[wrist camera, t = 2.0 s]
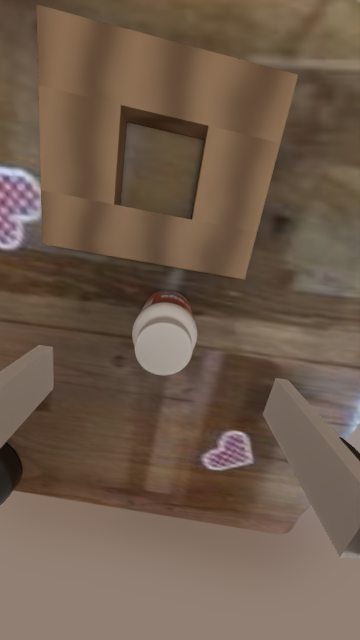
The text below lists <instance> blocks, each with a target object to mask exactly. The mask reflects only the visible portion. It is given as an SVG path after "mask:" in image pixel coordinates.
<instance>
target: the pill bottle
mask: <svg viewBox="0 0 360 640" xmlns="http://www.w3.org/2000/svg"><path fill="white" fill-rule="evenodd" d="M132 339H133V343H134V346H135V355H136V358H137V360H138V362H139V363H140V365H141V366H142V367H143V368H144V369H146V370H147V371H149V372H151V373H154V374H157V375H171V374H174V373H177V372H179V371H180V370H182V369H183V368H184V367H185V366H186V365H187V364H188V362H189V361H190V359H191V356H192V351H193V349H194V347H195V344H196V341H197V328H196V324H195V321H194V318H193V314H192V311H191V307H190V305H189V303H188V301H187V300H186V299H185V297H184V296H182V295H181V294H179V293H178V292H175V291H171V290H163V291H159V292H156V293H155V294H153V295H152V296H151V297H150V298H149V299H148V300H147V301H146V303H145V305H144V306H143V308H142V310H141V312H140V313H139V315H138V317H137V319H136V321H135V323H134V326H133V330H132Z"/></svg>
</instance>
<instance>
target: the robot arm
mask: <svg viewBox="0 0 360 640" xmlns="http://www.w3.org/2000/svg"><path fill="white" fill-rule="evenodd" d="M53 388H54V383H53V347H50V346H43V345H38V346H37V347H35V348H34V349H32V350H31V351H29V352H28V353H26V354H25V355H23V356H22V357H21V358H19V359H18V360H16V361H15V362H13V363H12V364H10V365H9V366H7V367H6V368H4V369H3V370H2V371H0V505H1V504H2V503H3V502H4V501H5V500H6V499H7V498H8V497H9V495H10V494H11V492H12V491H13V489H14V488H15V486H16V485H17V483H18V482H19V480H20V477H21V472H22V469H21V464H20V461H19V459H18V457H17V455H16V454H15V452H14V451H13V450H12V449H11V448H10V447H9V446H8V445H7V444H6V441H7V440H8V439H9V438H10V437H11V436H12V435H13V434H14V432H15V431H16V430H17V429H18V428H19V427H20V426H21V425H22V423H23V422H24V421H25V420H26V419H27V418H28V417H29V415H30V414H31V413H32V412H33V411H34V410H35V409H36V408H37V406H38V405H39V404H40V403H41V402H42V401H43V400H44V399H45V397H46V396H47V395H48V394H49V393H50V392H51V391H52V390H53ZM263 416H264V418H265V420H266V422H267V423H268V425H269V427H270V429H271V431H272V433H273V434H274V436H275V438H276V440H277V442H278V444H279V446H280V447H281V449H282V451H283V453H284V455H285V457H286V458H287V460H288V462H289V464H290V466H291V468H292V470H293V471H294V473H295V475H296V477H297V479H298V481H299V482H300V484H301V486H302V488H303V490H304V492H305V493H306V495H307V497H308V499H309V501H310V503H311V505H312V506H313V508H314V510H315V512H316V514H317V516H318V517H319V519H320V521H321V523H322V525H323V527H324V528H325V530H326V532H327V534H328V536H329V538H330V540H331V541H332V543H333V545H334V547H335V549H336V550H337V552H338V554H339V556H340V557H347V558H360V453H359V452H358V451H357V450H356V449H355V448H354V447H352V446H351V445H350V444H349V443H348V442H346V441H345V440H344V439H343V438H341V437H338V436H337V435H336V434H335V433H334V431H333V430H332V429H331V428H330V427H329V426H328V425H327V424H326V422H325V421H324V420H323V419H322V418H321V417H320V416H319V415H318V413H317V412H316V411H315V410H314V409H313V408H312V407H311V406H310V404H309V403H308V402H307V401H306V400H305V399H304V398H303V396H302V395H301V394H300V393H299V392H298V391H297V390H296V389H295V387H294V386H293V385H292V384H291V383H290V382H289V381H288V380H285V379H278V378H276V379H275V382H274V385H273V388H272V390H271V393H270V396H269V399H268V401H267V404H266V407H265V410H264V413H263Z"/></svg>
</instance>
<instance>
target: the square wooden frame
mask: <svg viewBox="0 0 360 640" xmlns="http://www.w3.org/2000/svg"><path fill="white" fill-rule="evenodd" d="M37 36H38V79H39V121H40V163H41V205H42V244H45V245H51V246H57V247H62V248H68V249H74V250H80V251H85V252H91V253H97V254H102V255H108V256H114V257H120V258H125V259H131V260H137V261H142V262H148V263H154V264H159V265H165V266H171V267H177V268H182V269H188V270H194V271H199V272H205V273H211V274H217V275H222V276H228V277H234V278H239V279H245V276H246V272H247V268H248V264H249V261H250V257H251V253H252V249H253V245H254V241H255V238H256V234H257V230H258V226H259V222H260V219H261V215H262V211H263V207H264V203H265V200H266V196H267V192H268V188H269V184H270V180H271V177H272V173H273V169H274V165H275V161H276V158H277V154H278V150H279V146H280V142H281V138H282V135H283V131H284V127H285V123H286V119H287V116H288V112H289V108H290V104H291V100H292V97H293V93H294V89H295V85H296V81H297V77H298V75H296V74H293V73H289V72H285V71H282V70H278V69H274V68H270V67H267V66H263V65H259V64H256V63H252V62H248V61H244V60H241V59H237V58H233V57H230V56H226V55H222V54H218V53H215V52H211V51H207V50H203V49H200V48H196V47H192V46H189V45H185V44H181V43H177V42H174V41H170V40H166V39H163V38H159V37H155V36H151V35H148V34H144V33H140V32H136V31H133V30H129V29H125V28H122V27H118V26H114V25H110V24H107V23H103V22H99V21H96V20H92V19H88V18H84V17H81V16H77V15H73V14H69V13H66V12H62V11H58V10H55V9H51V8H47V7H43V6H40V5H37ZM127 122H130V123H134V124H139V125H143V126H147V127H152V128H156V129H160V130H165V131H169V132H173V133H178V134H182V135H186V136H191V137H195V138H199V139H204V146H203V152H202V158H201V164H200V169H199V175H198V181H197V187H196V193H195V199H194V204H193V210H192V216H191V219H186V218H181V217H176V216H170V215H165V214H160V213H155V212H150V211H145V210H140V209H135V208H130V207H125V206H120V202H121V189H122V176H123V163H124V150H125V138H126V125H127Z"/></svg>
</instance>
